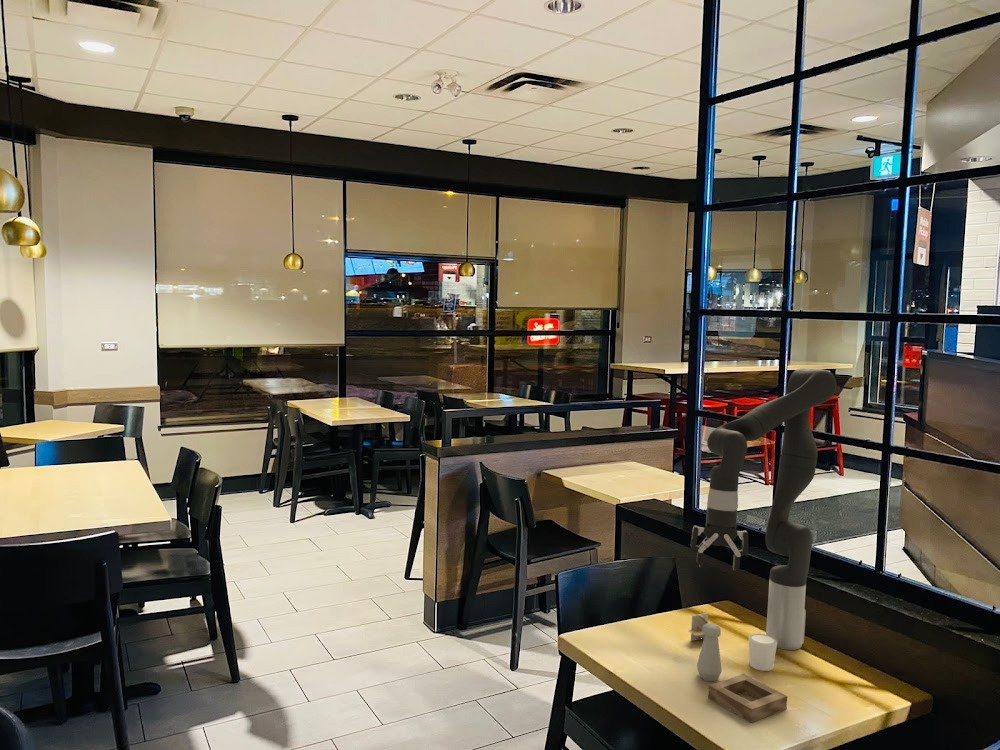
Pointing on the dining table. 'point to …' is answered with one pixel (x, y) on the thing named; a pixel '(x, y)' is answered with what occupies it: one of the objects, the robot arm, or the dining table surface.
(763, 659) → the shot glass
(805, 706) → the dining table surface
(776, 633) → the robot arm
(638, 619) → the dining table surface
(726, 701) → the socket
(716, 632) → the salt shaker
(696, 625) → the architectural model
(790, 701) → the dining table surface
